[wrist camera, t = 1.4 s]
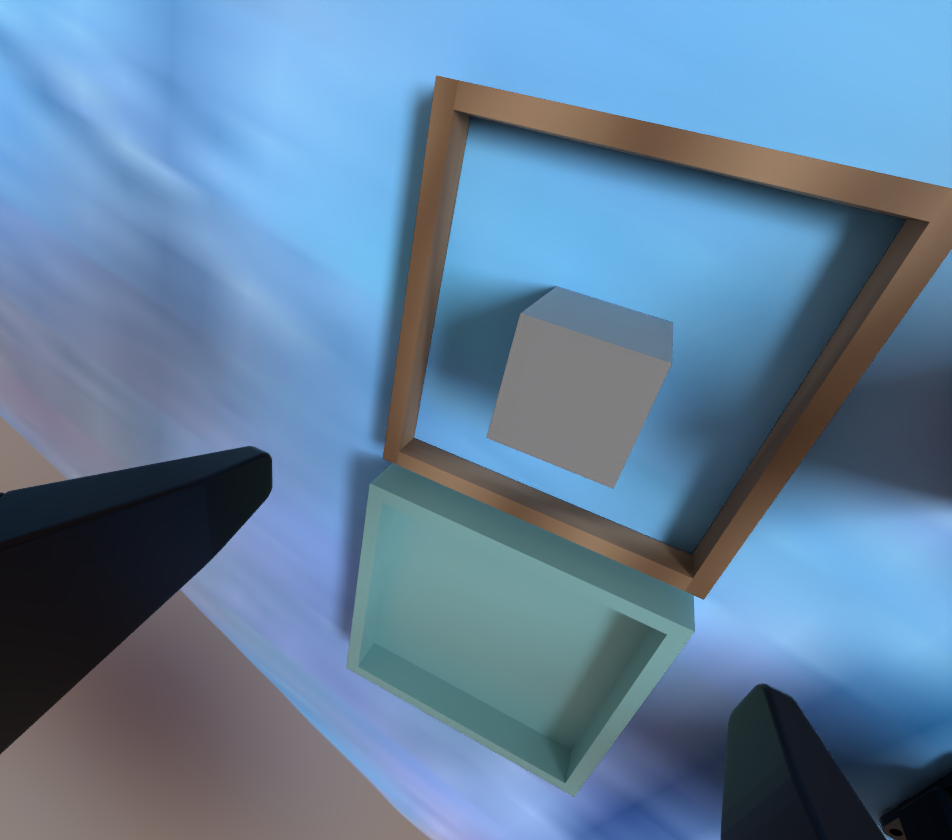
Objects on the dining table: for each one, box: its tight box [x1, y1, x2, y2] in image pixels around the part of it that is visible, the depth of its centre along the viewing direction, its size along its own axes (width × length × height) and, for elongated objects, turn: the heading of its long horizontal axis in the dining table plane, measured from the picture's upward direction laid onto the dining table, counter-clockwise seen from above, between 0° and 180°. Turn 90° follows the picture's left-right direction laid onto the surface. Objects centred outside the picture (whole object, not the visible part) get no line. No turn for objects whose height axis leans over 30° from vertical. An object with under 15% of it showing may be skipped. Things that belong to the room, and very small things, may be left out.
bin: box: [346, 463, 695, 797], centre depth 26 cm, size 16×16×2 cm
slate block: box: [487, 286, 673, 488], centre depth 16 cm, size 4×4×5 cm
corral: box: [383, 76, 952, 600], centre depth 18 cm, size 16×16×2 cm
